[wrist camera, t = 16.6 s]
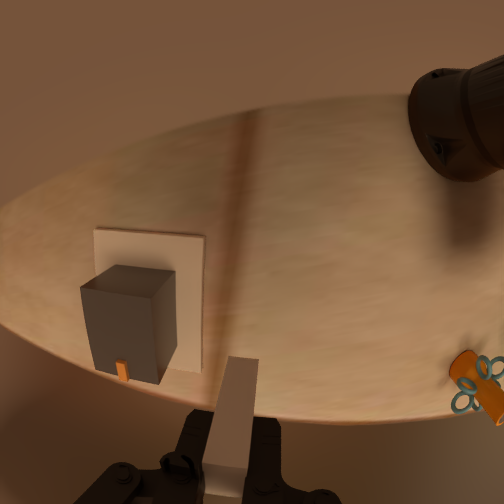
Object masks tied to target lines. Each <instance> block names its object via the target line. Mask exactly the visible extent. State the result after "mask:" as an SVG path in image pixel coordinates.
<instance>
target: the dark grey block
mask: <svg viewBox="0 0 504 504" xmlns="http://www.w3.org/2000/svg"><path fill="white" fill-rule="evenodd" d="M80 291H81V299H82V305H83V312H84V318H85V323H86V329H87V334H88V339H89V344H90V348H91V353H92V357H93V361H94V365H95V369H96V370H99V371H102V372H106V373H110V374H113V375H117V376H119V380H122V381H126V382H128V380H129V379H134V380H138V381H142V382H147V383H152V384H157V385H159V384H160V382H161V380H162V377H163V375H164V373H165V371H166V369H167V367H168V365H169V363H170V360H171V358H172V356H173V354H174V352H175V350H176V348H177V323H176V271H171V270H162V269H152V268H143V267H135V266H126V265H118V264H115V265H114V266H112V267H110V268H109V269H107V270H106V271H104V272H103V273H101V274H99V275H98V276H96V277H95V278H93V279H92V280H90V281H89V282H87V283H86V284H84V285H83V286H81V287H80Z"/></svg>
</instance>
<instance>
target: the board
mask: <svg viewBox="0 0 504 504" xmlns="http://www.w3.org/2000/svg"><path fill="white" fill-rule="evenodd" d="M93 234H94V256H95V271H96V276H98V275H99V274H101V273H103V272H104V271H106V270H107V269H109V268H110V267H112V266H114V265H115V264H118V265H126V266H135V267H143V268H152V269H162V270H171V271H176V323H177V348H176V350H175V352H174V354H173V356H172V358H171V360H170V363H169V365H168V367H167V368H171V369H177V370H183V371H189V372H196V373H201V372H202V368H203V289H204V260H205V238H206V236H198V235H185V234H173V233H160V232H147V231H134V230H121V229H107V228H97V229H94V230H93Z"/></svg>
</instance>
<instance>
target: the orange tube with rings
mask: <svg viewBox="0 0 504 504" xmlns="http://www.w3.org/2000/svg"><path fill="white" fill-rule="evenodd" d="M482 360H483V361H484V362H485V363H486V364H485V363H484V362H483V361H482ZM497 361H502V362H503V363H504V357H502V356H498V357H495V358H494V359H492V360H491V361H490V360H489V359H488V358H487V357H486V356H484V355H481V356H479V357H478V356H477V355H476V354H475V353H474V352H473V351H466V352H464V353H462V354H461V355H460V356H458V358H457V359H456V360H455V361H454V363H453V364H452V366H451V368H450V377H451V378H452V380H453V381H454V382H455V383H456V385H457V386H458V387H459V389H460V390H462V391H461V392H459V393H457V394H456V395H455V396H454V398H453V400H452V402H451V409H452V411H453V412H454V413H456V414H462V413H465V412H466V411H468V410H469V409H470V408H471V406H472V408H473V409H474V410H475V411H480V410H481V409H482V407H483V408H484V410H485V411H486V412H487V413H488V415H489V416H490V417H491V418H492V420H493V421H494V422H495V424H496V425H497V426H499V425H501V424H502V423H504V391H503V390H502V389H501V385H500V383H499V382H498V381H497V380H496V379H499V378H501V377H502V376H503V375H504V369H503V371H502V372H501V373H500V374H497V375H493V374H492V365H493V364H494V363H495V362H497ZM486 365H487V369H486ZM462 395H468V396H469V401H470V402H469V404H468V405H467V406H466V407H465V408H463V409H457V408H456V406H455V403H456V400H457V399H458V398H459V397H460V396H462ZM474 397H475V399H476V400H477V401H478V402H479V407H477V406H476V405H475V403H474Z"/></svg>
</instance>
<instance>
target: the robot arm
mask: <svg viewBox="0 0 504 504" xmlns="http://www.w3.org/2000/svg"><path fill="white" fill-rule="evenodd" d="M409 119H410V125H411V129H412V132H413V135H414V138H415V141H416V143H417V145H418V147H419V149H420V151H421V153H422V154H423V156H424V157H425V159H426V160H427V161H428V163H429V164H430V165H431V166H432V167H433V168H434V169H435V170H436V171H437V172H438V173H440V174H441V175H442V176H444V177H446V178H448V179H450V180H453V181H459V182H474V181H478V180H480V179H483V178H485V177H487V176H489V175H491V174H493V173H495V172H497V171H499V170H501V169H504V55H502V56H499V57H497V58H494V59H492V60H490V61H487V62H485V63H483V64H480V65H478V66H476V67H474V68H471V69H450V68H442V69H436V70H433V71H431V72H429V73H427V74H425V75H424V76H422V77H421V78H419V79H418V80H417V82H416V83H415V84H414V86H413V88H412V91H411V94H410V98H409ZM258 361H259V359H250V358H240V357H232V356H229V357H228V361H227V365H226V369H225V373H224V377H223V381H222V385H221V389H220V393H219V397H218V401H217V405H216V409H215V412H209V411H203V410H197V409H194V410H193V411H192V412H191V413H190V414H189V415H188V416H187V418H186V421H185V424H184V427H183V429H182V432H181V435H180V438H179V440H178V444H177V446H176V449H175V451H174V452H170V453H167V454H166V455H164V456H163V457H162V458H161V460H160V465H161V468H160V469H157V470H138V469H137V468H136V467H135V466H133V465H131V464H129V463H125V462H119V463H115V464H112V465H111V466H110V467H108V468H107V469H106V471H105V472H104V473H103V474H102V475H101V476H100V477H99V478H98V479H97V480H96V481H95V482H94V483H93V484H92V485H91V486H90V487H89V488H88V489H87V490H86V491H85V492H84V493H83V494H82V495H81V496H80V497H79V498H78V500H76V501H75V502H74V503H73V504H203V496H204V492H205V493H208V494H215V495H222V496H229V497H237V498H242V504H342V503H341V501H340V499H339V498H338V496H337V495H336V494H335V493H333V492H332V491H330V490H325V489H318V490H314V491H312V492H306V491H302V490H298V489H295V488H292V487H290V486H289V485H287V484H286V483H285V482H284V480H283V478H282V476H281V426H280V424H279V422H278V421H277V419H276V418H266V417H254V416H253V414H254V403H255V393H256V383H257V372H258Z"/></svg>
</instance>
